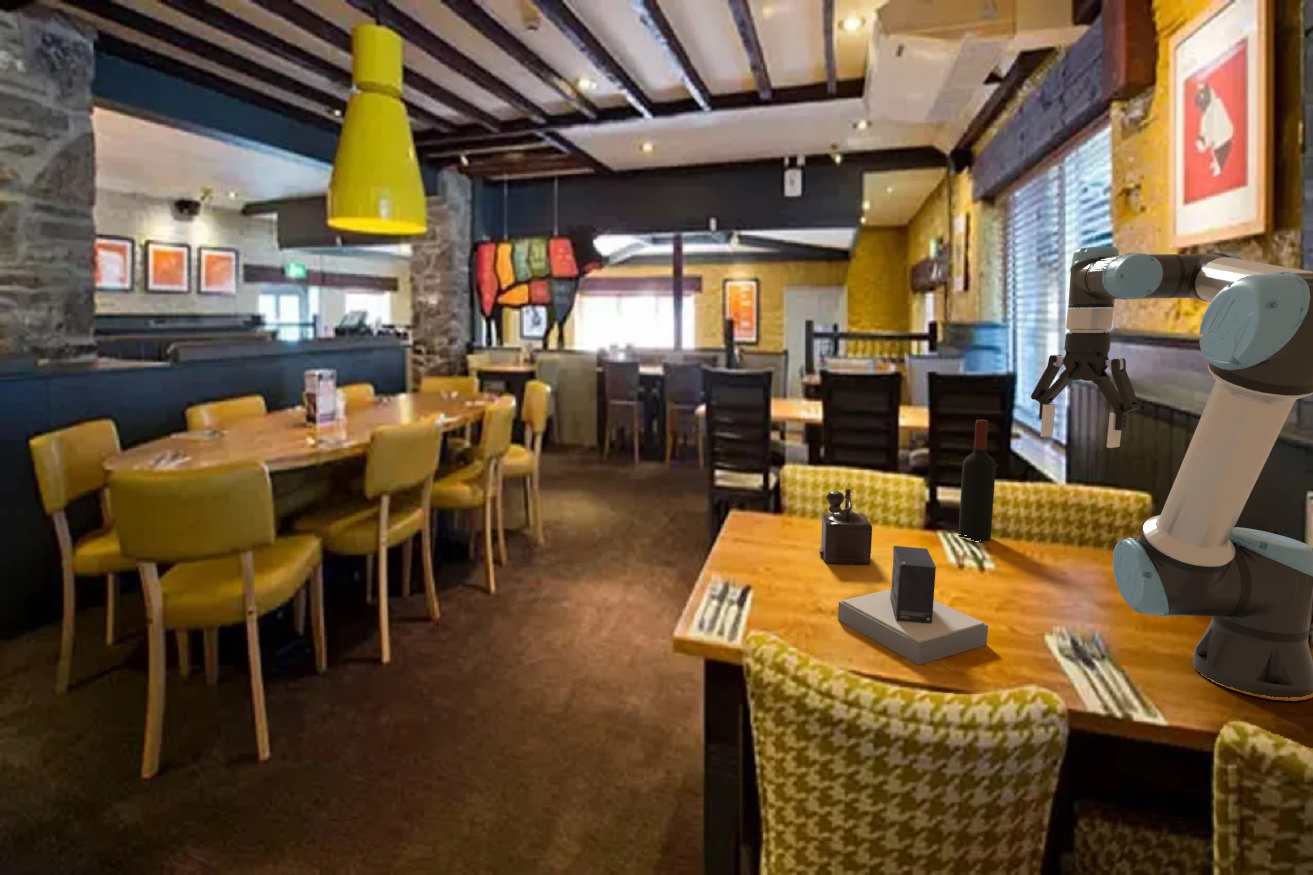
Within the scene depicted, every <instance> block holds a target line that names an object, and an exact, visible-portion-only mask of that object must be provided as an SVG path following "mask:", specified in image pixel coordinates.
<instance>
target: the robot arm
mask: <svg viewBox="0 0 1313 875" xmlns="http://www.w3.org/2000/svg"><path fill="white" fill-rule="evenodd" d="M1069 272H1070V273H1069V274H1070V276H1069V288H1068V289H1069V293H1068V306H1067V311H1066V323H1065V324H1066V325H1065V328H1066V330H1068V331H1069V332H1066V334H1065V337H1064V347H1063V349H1064V351H1065V355H1064V356H1063V355H1061V354H1054V355H1053V354H1052V355H1049V357H1048V361H1047V366H1046V368H1045V370H1044V371H1043V373H1042V375H1041V377H1040V379H1039V381H1038V382H1037V384H1036V386H1035V388H1034V390H1033V391H1032V393H1031V395H1030V398H1031V399H1032V400H1035V401H1036V402H1038V403H1039V410H1038V411H1039V412H1038V413H1039V414H1038V418H1039V420H1041V424H1040V426H1041V427H1040V437H1042V438H1046V437H1047V438H1048V437H1053V435H1054V427H1055V426H1054V424H1055V423H1054V422H1055V414H1056V413H1055V412H1056V403H1054V400H1055V399H1056V398H1057V397H1058V396H1059V395H1060V394H1061V392H1062V391H1063V390H1064V389H1065V388H1066V387H1067V386H1068V385H1069V384H1071V382H1072V381H1080V380H1081V381H1084V382H1093V384H1095V385H1096V386H1097V388H1098V389H1099V390H1100V392H1101V393H1102V395H1103V396H1104V398H1105V399H1106V400H1107V402H1108V403H1109V405H1110V407H1111V409H1113V410H1114V411H1112V412H1109V417H1108V418H1109V419H1108V420H1109V421H1108V428H1107V429H1108V430H1107V438H1106V439H1107V440H1106V448H1108V449H1113V448H1119V447H1120V446H1121V436H1122V431H1125V430H1126V427H1127V420H1128V414H1129V413H1130V412H1132V411H1138V410H1139V409H1140V403H1139V401H1138V398H1137V395H1136V393H1135V390H1134V388H1133V386H1132V383H1131V380H1130V378H1129V375H1128V373H1127V365H1126V364H1127V361H1126V359H1125V358H1123V357H1122V358H1112V359H1110V358H1109V352H1110V350H1111V340H1112V334H1111V332H1108V331H1110V330H1111V329H1112V328H1113V318H1114V309H1115V308H1114V307H1115V301H1116V300H1125V301H1127V300H1138V299H1139V300H1141V299H1143V300H1144V299H1148V300H1149V299H1194V300H1199V301H1202V302H1205V303H1209V304H1208V306H1207V308H1206V309H1205V312H1204V313H1203V317H1202V319H1201V323H1200V326H1199V334H1200V335H1202V337H1201V339H1200V340H1199V347H1200V348H1199V349H1200V350H1201V353H1202V356H1203V357H1204V358H1205V360H1206V361H1207V362H1208V364H1207V369H1208V372H1209V373H1210V374H1211V376H1212V377H1213V379H1214V380H1215V382H1214V385H1213V387H1212V390H1211V393H1210V394H1209V397H1208V400H1207V402H1206V404H1205V407H1204V408H1203V412H1202V414H1201V416H1200V419H1199V421H1198V424H1197V426H1196V429H1195V431H1194V432H1193V433H1194V434H1193V436H1192V438H1191V441H1190V443H1189V446H1188V448H1187V450H1186V452H1185V455H1184V458H1183V459H1182V463H1181V465H1180V468H1179V469H1178V472H1177V474H1176V477H1175V479H1174V482H1173V484H1172V487H1171V490H1170V491H1169V494H1168V496H1167V499H1166V501H1165V503H1164V506H1163V508H1162V511H1161V514H1159V515H1156V516H1155V515H1154V516H1152V517H1149V518H1148V519H1147V520H1146V521H1145V522H1144V524H1143V526H1142V529H1141V530H1140V532H1139V536H1138V537H1137V538H1132V537H1127V538H1125V539H1121V540H1119V541H1118V542H1117V543H1116V545H1114V546H1115V547H1114V549H1113V554H1112V570H1113V576H1114V579H1115V583H1116V587H1117V589H1118V591H1119V593H1120V595H1121V597H1122V599H1123V600H1124V602H1125V603H1126V604H1127V606H1129V608H1131V609H1132V610H1133V611H1135V612H1137V613H1139V614H1142V615H1149V616H1158V617H1161V618H1163V617H1211V622H1210V623H1209V625H1208V626H1207V628H1206V629H1205V632H1204V633H1203V635H1202V636H1201V638H1200V640H1199V641H1198V642H1197V645H1196V646H1195V647H1194V650H1193V656H1192V663H1193V664H1192V667H1193V666H1194V667H1195V669H1196V670H1198V671H1199V672H1200V673H1201V674H1203V675H1204V676H1206V677H1207V678H1210V679H1212V680H1214V681H1215V682H1217V683H1220V684H1223V685H1225V686H1227V687H1233V688H1235V689H1238V690H1241V691H1246V692H1250V693H1253V694H1258V695H1266V696H1271V697H1272V696H1273V697H1284V698H1285V697H1288V698H1290V697H1303V696H1306V695H1310V694H1312V693H1313V656H1312V652H1311V649H1310V646H1309V634H1310V629H1311V624H1312V623H1311V622H1312V616H1313V547H1312V546H1311V545H1309V544H1307V543H1304V542H1302V541H1300V540H1297V539H1294V538H1292V537H1287V536H1284V535H1280V534H1276V533H1273V532H1269V531H1264V530H1258V529H1253V528H1249V527H1248V528H1247V527H1238V526H1237V527H1236V526H1235V525H1236V524H1237V522H1238V520H1239V518H1240V516H1241V514H1242V512H1243V510H1244V508H1245V505H1246V503H1247V501H1248V499H1249V497H1250V494H1251V493H1252V491H1253V489H1254V486H1255V484H1256V482H1257V481H1258V479H1259V476H1260V474H1261V473H1262V471H1263V468H1264V466H1265V464H1266V462H1267V459H1268V458H1269V456H1270V453H1271V451H1272V450H1273V447H1274V446H1275V443H1276V441H1277V439H1278V437H1279V434H1280V433H1281V431H1282V429H1283V427H1284V425H1285V422H1286V421H1287V418H1288V416H1289V414H1290V412H1291V410H1292V408H1293V406H1294V405H1295V403H1296V400H1300V399H1302V398H1305V397H1309V396H1311V395H1313V271H1311V270H1303V269H1298V268H1293V267H1287V266H1280V265H1275V264H1269V263H1263V262H1258V261H1250V260H1245V259H1242V257H1241V256H1240V255H1238V254H1235V253H1225V252H1209V253H1184V254H1183V253H1182V254H1178V253H1177V254H1175V253H1174V254H1173V253H1172V254H1171V253H1166V254H1165V253H1163V254H1162V253H1161V254H1159V253H1157V254H1155V253H1153V254H1150V253H1149V254H1147V253H1142V252H1136V253H1135V252H1134V253H1131V252H1129V253H1125V254H1124V253H1123V254H1121V255H1120V251H1119V249H1118V248H1117V247H1116V246H1090V247H1081V248H1077V249H1076V250H1074V252H1073V254H1072V261H1071V266H1070V269H1069ZM1063 365H1064V368H1065V369H1064V370H1063V371H1062V372H1061V373H1060V374H1059V376H1058V378H1057V379H1056V377H1057V375H1058V373H1059V371H1060V369H1061V367H1062V366H1063ZM1107 369H1108V370H1110V371H1111V375H1112V379H1113V381H1114V383H1115V386H1116V387H1115V386H1114V384H1113V382H1112V381H1111V377H1110V376H1109V374H1108V373H1107V371H1106V370H1107ZM1055 379H1056V380H1055ZM1054 380H1055V381H1054ZM1053 382H1054V383H1053ZM1194 667H1193V668H1194ZM1195 669H1194V670H1195ZM1196 670H1195V671H1196Z"/></svg>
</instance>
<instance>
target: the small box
mask: <svg viewBox="0 0 1313 875" xmlns="http://www.w3.org/2000/svg"><path fill="white" fill-rule="evenodd" d="M892 553H893V554H892V557H893V559H892V571H891V585H890V589H891V595H890V599H891V603H892V607H893V612H894V616H895V620H900V621H912V622H923V623H932V615H933V601H934V599H935V585H936V584H935V583H936V570H937V567H936V564H935V562H934V560H933V558H932V556H931V554H930V551H929V549H928V548H925V547H923V548H922V547H912V546H901V545H893V550H892Z"/></svg>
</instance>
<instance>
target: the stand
mask: <svg viewBox="0 0 1313 875" xmlns="http://www.w3.org/2000/svg"><path fill="white" fill-rule="evenodd" d="M890 595H891V588H890V589H886V590H885V589H884V590H881V591H876V592H873V593H869V594H863V595H860V596H856V597H855V596H854V597H852V598H847V599H843V600H841V601H838V610H837V611H838V612H837V614H838V615H837V621H838V622H840V623H843V624H844V625H846V626H848V627H849V628H852V629H853V630H855V631H857V632H858V633H860V634H862V635H864V636H866V637H867V638H869V639H872V641H875V642H876V643H878V644H879V645H882V646H884V647H886V648H887V649H889V650H890V651H893V652H894V653H896V654H898V655H900V656H901V657H902V658H905V659H907V660H909V661H910V662H912V663H913V664H915V665H917V666H921V665H923V664H924V665H925V664H927V663H930V662H934V661H937V660H940V659H944V658H947V657H950V656H954V655H957V654H960V653H963V652H967V651H970V650H974V649H977V648H981V647H984V646H987V645H988V633H989V632H988V631H989V625H988V624H986V623H985V622H984V621H982V620H979V619H977V618H975V617H972V616H970V615H967V614H966V613H964V612H961V611H959V610H957V609H954V608H952V607H950V606H948V605H945V604H944V603H941V602H938V601H936V600H934V601H933V615H932V623H923V622H912V621H900V620H895V616H894V612H893V607H892V603H891V599H890Z"/></svg>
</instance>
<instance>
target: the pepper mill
mask: <svg viewBox="0 0 1313 875" xmlns="http://www.w3.org/2000/svg"><path fill="white" fill-rule="evenodd" d="M851 493H852V490H851V489H850V488H846V489H845V494H844V493H842V492H840V491H838V490H833V491H830V492H828V494H827V495H826V501H827V503H828V505H829V507H828V509H827V510H828V511H829V512H822V515H821V538H820V542H821V544H820V548H819V549H820V550H819V555H820V556H821V558H822V559H823V562H825V563H826V564H832V565H849V566H868V565H870V564H871V555H872V554H871V553H872V542H873V541H872V539H873V525H872V524H871V522H870V520H869V519H868V517H867V516H866V514H865V513H858V512H857V513H856V512H855V511H852V509H853V504H852V494H851ZM844 501H845V503H844ZM843 503H844V504H845V506H844V509H842V507H841V505H842V504H843Z"/></svg>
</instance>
